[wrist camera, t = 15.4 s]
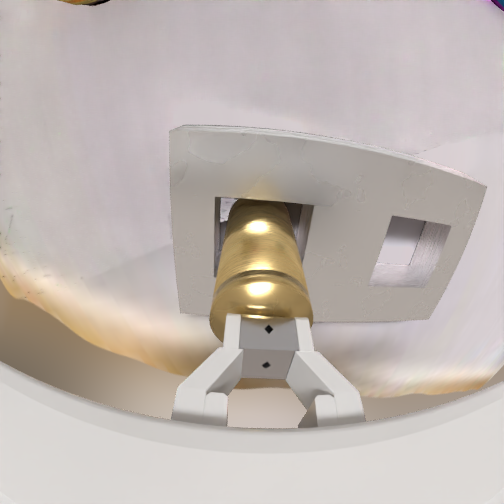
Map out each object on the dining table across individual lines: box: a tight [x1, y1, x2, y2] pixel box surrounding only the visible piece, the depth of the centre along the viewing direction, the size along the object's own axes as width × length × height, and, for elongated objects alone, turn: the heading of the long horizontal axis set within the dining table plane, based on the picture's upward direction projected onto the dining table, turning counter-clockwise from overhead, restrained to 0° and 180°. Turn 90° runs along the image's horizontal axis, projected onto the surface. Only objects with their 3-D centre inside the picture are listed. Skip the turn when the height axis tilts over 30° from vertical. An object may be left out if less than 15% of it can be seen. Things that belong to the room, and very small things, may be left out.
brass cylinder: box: [209, 198, 313, 342], centre depth 14 cm, size 4×4×9 cm
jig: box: [169, 125, 487, 322], centre depth 17 cm, size 20×12×3 cm, turn 85°
